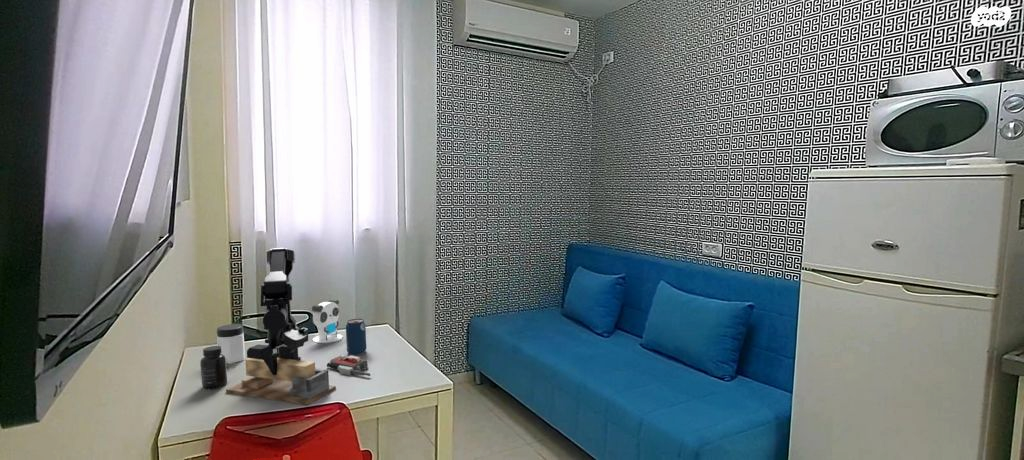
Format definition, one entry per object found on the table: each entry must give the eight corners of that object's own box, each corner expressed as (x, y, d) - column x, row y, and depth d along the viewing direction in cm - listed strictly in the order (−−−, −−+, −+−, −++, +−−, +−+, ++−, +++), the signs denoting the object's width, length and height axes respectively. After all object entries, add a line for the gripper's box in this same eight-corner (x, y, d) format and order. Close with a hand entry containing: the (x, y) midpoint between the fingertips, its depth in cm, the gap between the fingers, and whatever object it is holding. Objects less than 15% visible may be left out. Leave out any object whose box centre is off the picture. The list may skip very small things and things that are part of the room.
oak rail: (246, 375, 155) (245, 359, 155) (256, 370, 159) (255, 355, 159) (306, 383, 148) (305, 366, 148) (315, 378, 152) (315, 362, 152)
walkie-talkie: (321, 371, 171) (367, 380, 163) (321, 358, 171) (367, 367, 162) (341, 362, 179) (386, 371, 170) (340, 350, 179) (385, 358, 170)
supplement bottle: (208, 382, 162) (206, 344, 161) (231, 381, 162) (229, 344, 161) (197, 390, 155) (194, 351, 154) (221, 389, 156) (218, 351, 155)
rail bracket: (226, 392, 153) (224, 371, 153) (258, 378, 165) (256, 358, 164) (307, 405, 144) (306, 382, 143) (335, 389, 155) (334, 368, 154)
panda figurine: (328, 344, 199) (326, 306, 198) (305, 341, 203) (303, 304, 202) (348, 336, 210) (347, 300, 209) (326, 333, 214) (324, 298, 213)
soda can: (370, 351, 190) (369, 319, 189) (355, 357, 184) (354, 324, 183) (357, 348, 194) (356, 317, 193) (342, 353, 188) (341, 321, 187)
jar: (220, 357, 185) (218, 325, 184) (245, 354, 188) (244, 322, 187) (217, 365, 177) (214, 331, 176) (243, 362, 180) (241, 328, 179)
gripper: (275, 332, 141) (278, 387, 142) (321, 315, 158) (323, 364, 160) (243, 329, 144) (247, 382, 146) (292, 313, 162) (294, 361, 163)
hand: (280, 372), depth 154 cm, fingers closed on oak rail, 4 cm apart
